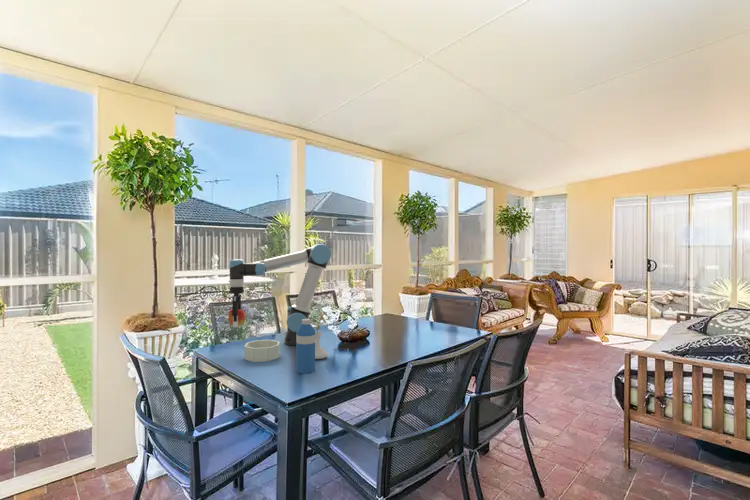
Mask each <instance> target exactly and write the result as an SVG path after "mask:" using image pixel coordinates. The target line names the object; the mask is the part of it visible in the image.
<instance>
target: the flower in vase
mask: <svg viewBox="0 0 750 500" xmlns="http://www.w3.org/2000/svg"><path fill="white" fill-rule="evenodd" d="M318 314H319V316H320V319H319V321H318V323H317V327H316V328H315V360H322V359H325V358H327V357H328V355H329V354H328V352H327V351H326V350H325V348H323V347H321V341H320V340H321V336H322V334H323V332H322V331H319V330H320V329H321V326H320V325H319V324H320V322H321V320H322V321H323V322H324V324H325V325H326V324H327V320H326V318H325V317H324V316H323V313H322V311H319V313H318Z"/></svg>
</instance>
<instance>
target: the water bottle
mask: <svg viewBox="0 0 750 500" xmlns="http://www.w3.org/2000/svg"><path fill="white" fill-rule="evenodd" d="M315 332H316V329H315V328H314V327H313V326H312V324H311V319H310V318H308V319H302V324H301V325H300V327H299V328H298V329H297V331H296V345H295V346H296V347H295V352H296V353H295V371H296V373H298V374H304V375H305V374H311V373H313V372H315V371H316V359H315V344H316V340H315Z"/></svg>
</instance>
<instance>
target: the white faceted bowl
mask: <svg viewBox="0 0 750 500" xmlns="http://www.w3.org/2000/svg"><path fill="white" fill-rule="evenodd" d="M280 348H281V343H280V341H278V340H275V339H256V340H252V341H248V342H246V343H245V345H244V348H243V349H244V350H243V351H244V353H243V356H244V357H243V359H244V360H245V361H249V362H253V363H259V362H262V363H263V362H269V361H273V360H276V359H279V358H280V356H281V353H280V351H281V349H280Z"/></svg>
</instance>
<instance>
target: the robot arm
mask: <svg viewBox="0 0 750 500" xmlns="http://www.w3.org/2000/svg"><path fill="white" fill-rule="evenodd" d="M331 257H332V252H331V248H330V247H329V246H328V245H327V244H324V243H317V244H314V245H313V246H311V247H307V248H304V250H301V251H296V252H293V253H288V254H284V255H280V256H275V257H272V258H271V257H270V258H267V259H264V260H263V259H262V260H259V261H258V260H257V261H254V262H244V259H231V260H230V261H229V280H228V283H229V293H230V294H231V295H232V294H233V296H232V308H231V310H232V314H231V316H233V325H232V328H238V327H239V326H238V309H240V310H242V295H241V294H243V293H244V291H245V289H244V288H245V287H244V285H245V284H244V283H245V282H244V280H245V279H244V277H247V276H248V277H249V276H251V277H252V276H253V277H256V276H258V277H260V276H264V275H265V274H266V273H267V272H272V271H275V270H280V269H284V268H289V267H292V266H296V265H301V264H305V263H307V270H306V272H305V275H304V278H303V281H302V285H301V287H300V289H299V292H298V296H297V297H296V301H295V303H294V304H293V305H290V306H288V307H287V310H286V314H287V317H286V326H287V327H286V334H285V336H284V340H283V341H284V342H283V343H284V345H287V346H296V331H297V329H298V328H299V327H300V325H301V324H302V319H309V317H310V314H311V309H310V307H311V304H312V301H313V298H314V297H315V296H314V295H315V292H316V289H317V287H318V285H319V281H320V278H321V274H322V272H323V271H324V270H326V268H327V266H328V263H329V261H330V260H331Z"/></svg>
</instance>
